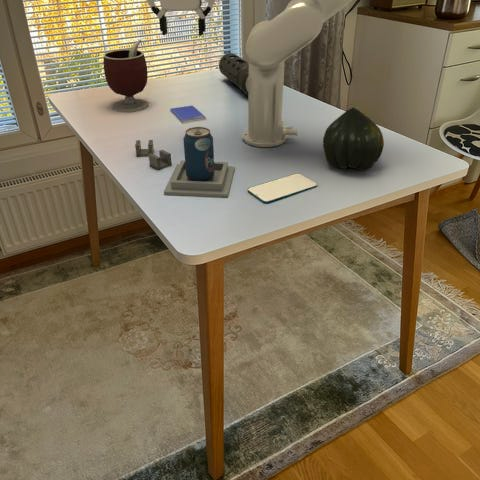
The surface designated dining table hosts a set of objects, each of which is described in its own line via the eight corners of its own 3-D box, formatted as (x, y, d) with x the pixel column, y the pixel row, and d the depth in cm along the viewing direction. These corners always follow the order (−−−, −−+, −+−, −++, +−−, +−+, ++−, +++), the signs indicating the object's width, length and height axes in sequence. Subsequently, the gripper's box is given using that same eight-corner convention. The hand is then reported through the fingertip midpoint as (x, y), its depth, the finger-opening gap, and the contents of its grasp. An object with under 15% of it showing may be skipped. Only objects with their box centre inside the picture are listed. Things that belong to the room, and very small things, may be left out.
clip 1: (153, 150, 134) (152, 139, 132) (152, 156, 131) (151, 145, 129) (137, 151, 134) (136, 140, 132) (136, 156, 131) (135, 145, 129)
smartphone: (298, 175, 122) (245, 192, 115) (298, 172, 121) (245, 188, 114) (318, 188, 116) (265, 206, 109) (319, 184, 116) (265, 202, 109)
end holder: (234, 169, 124) (234, 159, 123) (227, 197, 112) (227, 187, 110) (177, 166, 125) (176, 157, 124) (164, 194, 113) (163, 184, 112)
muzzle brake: (241, 78, 193) (240, 51, 187) (269, 98, 171) (270, 68, 166) (218, 80, 190) (217, 53, 184) (244, 102, 169) (244, 71, 163)
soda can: (214, 184, 116) (212, 136, 109) (185, 184, 115) (182, 137, 109) (214, 171, 121) (212, 125, 114) (186, 172, 121) (183, 126, 114)
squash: (365, 165, 113) (385, 106, 114) (307, 154, 120) (327, 98, 121) (376, 184, 125) (394, 130, 126) (323, 172, 132) (341, 122, 133)
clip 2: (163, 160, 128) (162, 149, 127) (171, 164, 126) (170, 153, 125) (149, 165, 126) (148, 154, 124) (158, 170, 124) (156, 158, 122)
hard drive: (206, 116, 153) (193, 105, 163) (181, 120, 151) (169, 108, 160) (206, 121, 154) (193, 109, 164) (182, 125, 152) (170, 113, 161)
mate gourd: (132, 115, 157) (123, 51, 146) (101, 108, 163) (90, 46, 152) (162, 102, 168) (156, 41, 157) (132, 96, 174) (124, 37, 163)
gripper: (215, -43, 119) (217, 32, 129) (147, -43, 121) (154, 31, 130) (211, -40, 113) (213, 38, 123) (138, -40, 114) (147, 37, 124)
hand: (183, 34), depth 126 cm, fingers open, 9 cm apart
